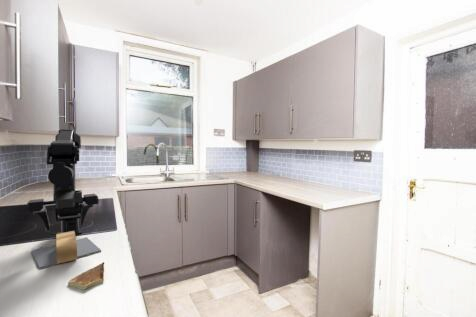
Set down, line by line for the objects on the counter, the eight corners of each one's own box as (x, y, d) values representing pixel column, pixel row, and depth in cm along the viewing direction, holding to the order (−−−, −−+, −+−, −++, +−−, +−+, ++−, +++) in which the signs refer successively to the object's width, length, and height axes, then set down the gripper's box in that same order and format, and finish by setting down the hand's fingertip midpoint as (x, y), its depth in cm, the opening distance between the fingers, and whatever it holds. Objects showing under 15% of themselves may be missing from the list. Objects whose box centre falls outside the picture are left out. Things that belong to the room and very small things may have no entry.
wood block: (56, 233, 81) (56, 247, 71) (74, 230, 84) (76, 243, 74) (56, 248, 81) (56, 263, 71) (74, 244, 84) (77, 259, 74)
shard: (104, 266, 72) (103, 260, 71) (123, 271, 69) (123, 265, 69) (66, 286, 61) (66, 279, 61) (88, 293, 59) (88, 286, 59)
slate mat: (31, 251, 80) (31, 250, 80) (86, 238, 91) (86, 237, 91) (39, 269, 69) (39, 267, 69) (101, 251, 80) (101, 250, 80)
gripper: (23, 187, 67) (25, 242, 68) (100, 181, 78) (101, 229, 79) (27, 182, 76) (29, 231, 77) (95, 177, 87) (96, 220, 88)
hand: (65, 228), depth 80 cm, fingers open, 8 cm apart
